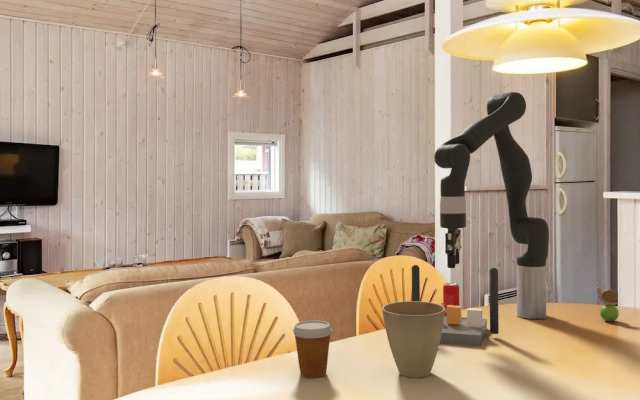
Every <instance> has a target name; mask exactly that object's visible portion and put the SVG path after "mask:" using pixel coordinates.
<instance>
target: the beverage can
mask: <svg viewBox="0 0 640 400" xmlns="http://www.w3.org/2000/svg"><path fill="white" fill-rule="evenodd" d="M442 301H443V303H442V304H443V305H442V306H443V307H444V308H445V313H444V316H447V306H448V305H453V306H460V286H459V284H458V283H457V282H456V283H455V282H445V283H443V286H442Z"/></svg>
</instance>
